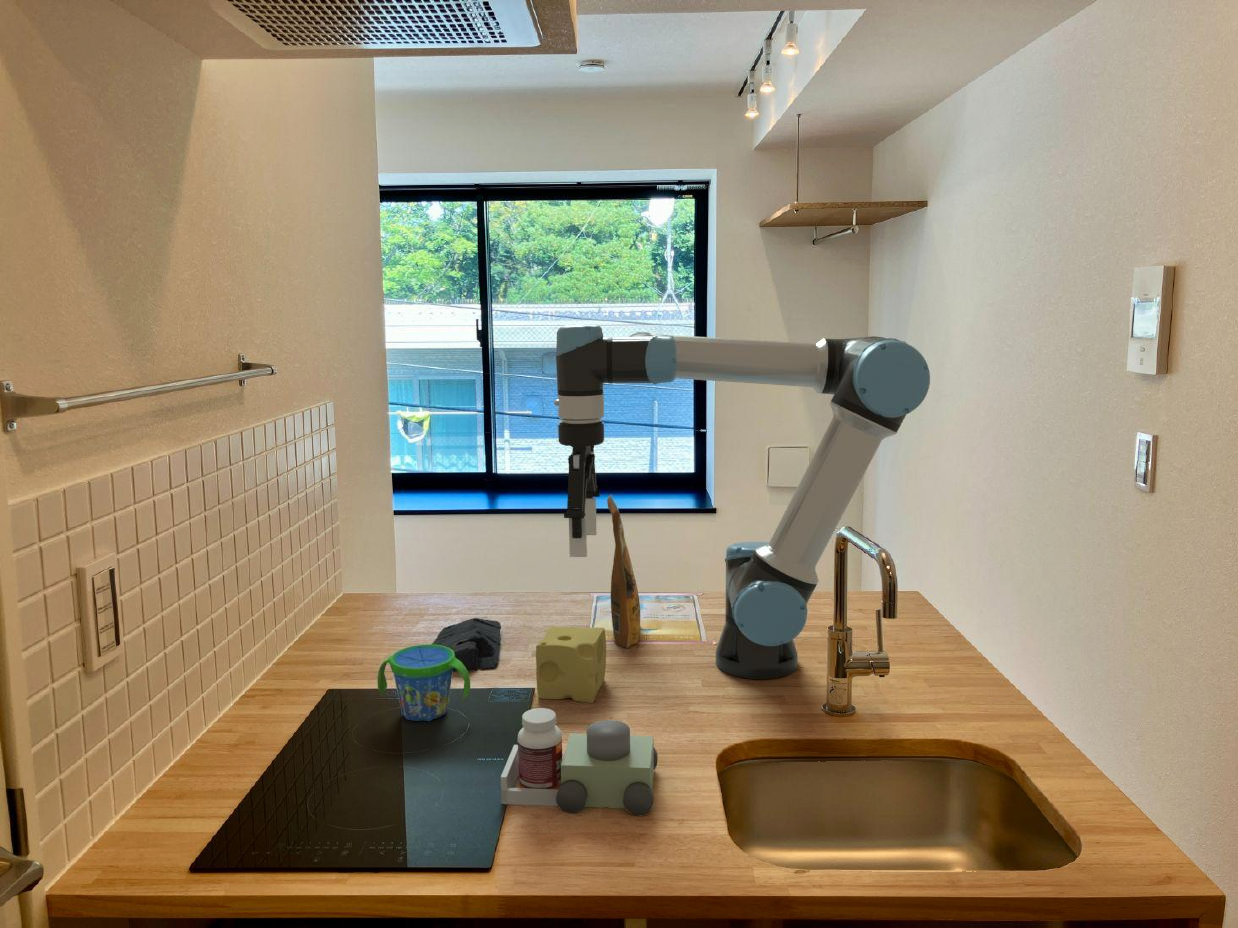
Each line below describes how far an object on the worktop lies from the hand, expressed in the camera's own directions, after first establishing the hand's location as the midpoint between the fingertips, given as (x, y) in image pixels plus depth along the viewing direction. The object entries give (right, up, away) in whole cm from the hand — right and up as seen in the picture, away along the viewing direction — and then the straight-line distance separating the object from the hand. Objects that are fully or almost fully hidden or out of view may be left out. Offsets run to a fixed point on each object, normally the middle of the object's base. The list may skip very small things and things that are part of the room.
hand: (583, 545), depth 154 cm
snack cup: (-26, -28, -2) cm, 38 cm away
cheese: (-2, -26, +7) cm, 27 cm away
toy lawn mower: (+1, -32, -26) cm, 41 cm away
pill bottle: (-5, -32, -25) cm, 41 cm away
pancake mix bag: (+7, -21, +33) cm, 40 cm away
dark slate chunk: (-24, -23, +26) cm, 43 cm away
